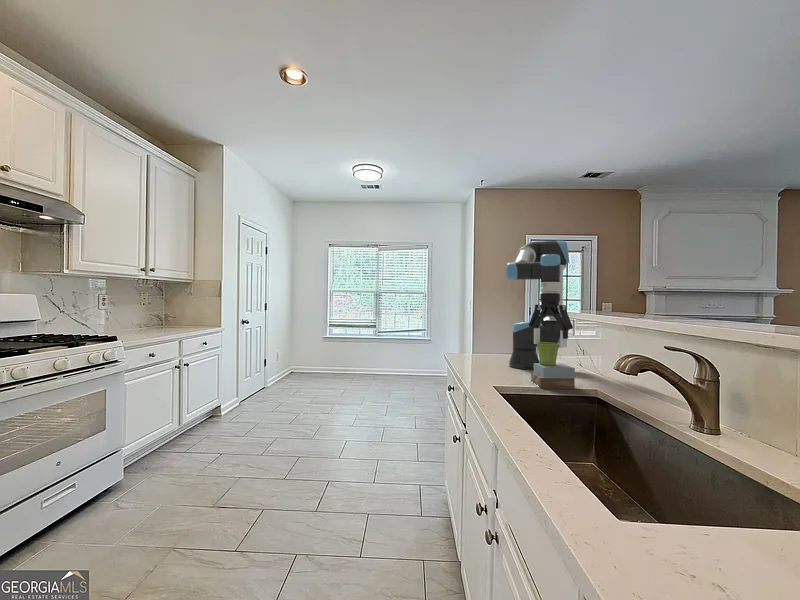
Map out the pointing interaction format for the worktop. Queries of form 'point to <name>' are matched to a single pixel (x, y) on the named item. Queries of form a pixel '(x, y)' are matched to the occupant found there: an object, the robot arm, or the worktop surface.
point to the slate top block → (554, 371)
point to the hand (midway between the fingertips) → (549, 345)
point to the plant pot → (547, 352)
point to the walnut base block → (553, 382)
